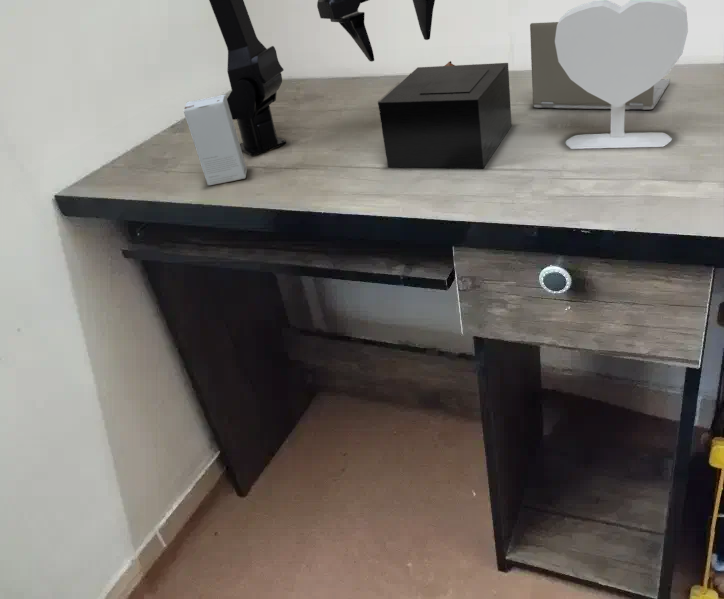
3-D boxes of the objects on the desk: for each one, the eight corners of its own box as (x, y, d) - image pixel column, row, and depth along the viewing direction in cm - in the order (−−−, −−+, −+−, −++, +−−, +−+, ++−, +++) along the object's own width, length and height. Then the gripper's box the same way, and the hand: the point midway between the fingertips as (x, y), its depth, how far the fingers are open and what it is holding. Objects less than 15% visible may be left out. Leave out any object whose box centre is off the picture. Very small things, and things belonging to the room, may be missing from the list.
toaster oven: (382, 167, 104) (371, 102, 99) (419, 127, 116) (411, 66, 111) (483, 168, 98) (477, 98, 92) (511, 125, 109) (508, 61, 104)
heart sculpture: (679, 132, 97) (689, -10, 88) (679, 146, 93) (690, -1, 84) (560, 135, 103) (558, 2, 94) (556, 149, 99) (553, 11, 90)
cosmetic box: (247, 169, 112) (227, 92, 106) (246, 180, 108) (225, 101, 102) (208, 176, 112) (186, 100, 106) (205, 187, 108) (182, 109, 102)
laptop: (670, 83, 114) (676, -4, 107) (652, 111, 105) (657, 18, 98) (557, 83, 123) (556, 2, 116) (532, 109, 114) (529, 23, 107)
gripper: (332, -51, 87) (366, 77, 94) (462, -95, 91) (485, 30, 99) (300, -46, 96) (334, 70, 104) (420, -86, 101) (444, 28, 108)
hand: (399, 50), depth 103 cm, fingers open, 9 cm apart
